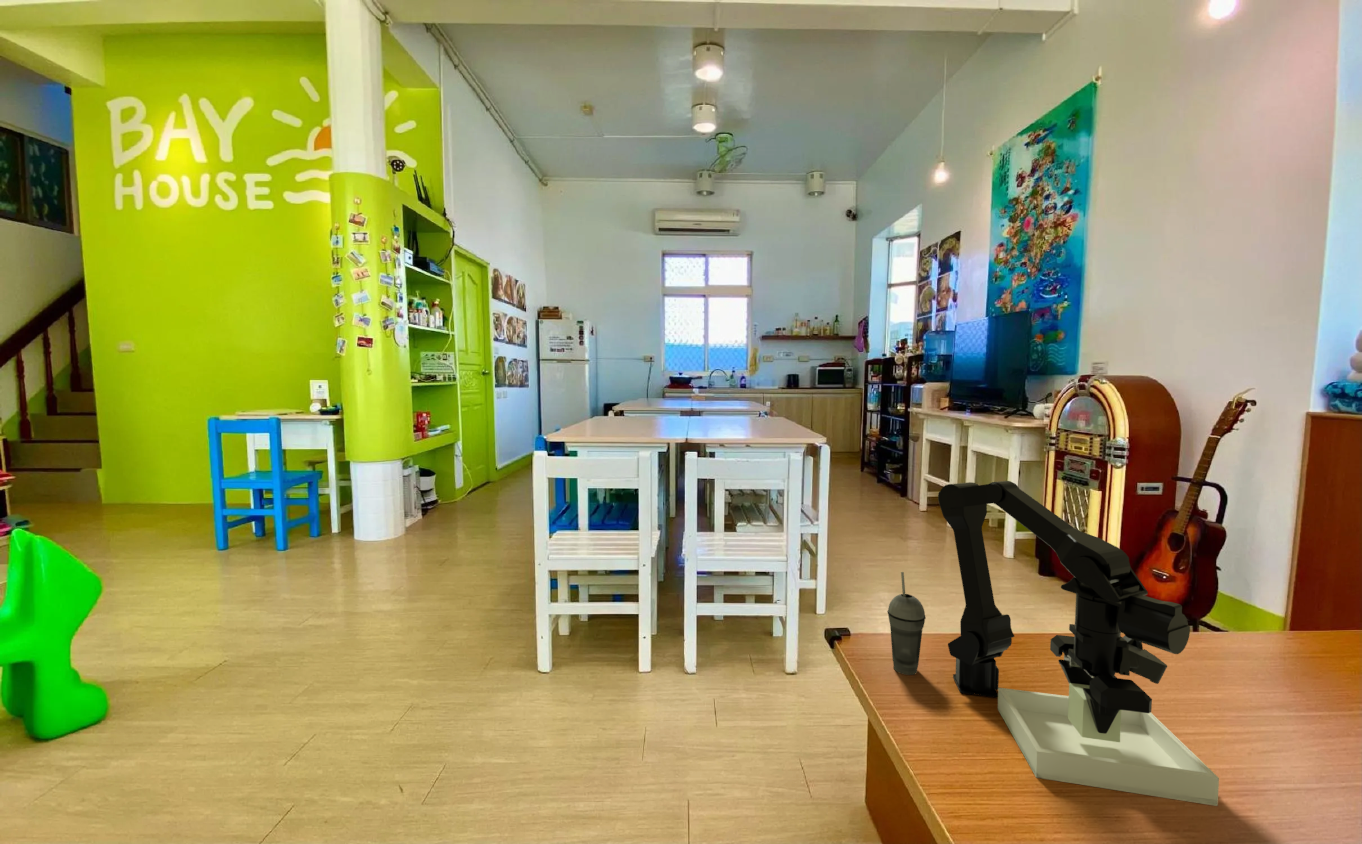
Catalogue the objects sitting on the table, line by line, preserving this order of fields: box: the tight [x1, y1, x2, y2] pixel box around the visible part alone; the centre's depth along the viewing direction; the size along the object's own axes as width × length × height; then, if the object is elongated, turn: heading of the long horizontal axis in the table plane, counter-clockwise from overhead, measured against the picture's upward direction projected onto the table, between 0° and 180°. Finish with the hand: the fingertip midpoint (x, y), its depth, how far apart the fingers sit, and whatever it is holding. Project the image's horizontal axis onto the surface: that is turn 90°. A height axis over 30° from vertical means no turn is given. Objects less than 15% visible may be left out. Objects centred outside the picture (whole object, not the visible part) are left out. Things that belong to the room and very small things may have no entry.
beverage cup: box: [887, 571, 927, 676], centre depth 111 cm, size 7×7×20 cm
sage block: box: [1068, 682, 1121, 742], centre depth 85 cm, size 5×5×6 cm
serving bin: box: [997, 687, 1220, 807], centre depth 85 cm, size 22×18×4 cm
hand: (1093, 722), depth 85 cm, fingers closed on sage block, 5 cm apart
